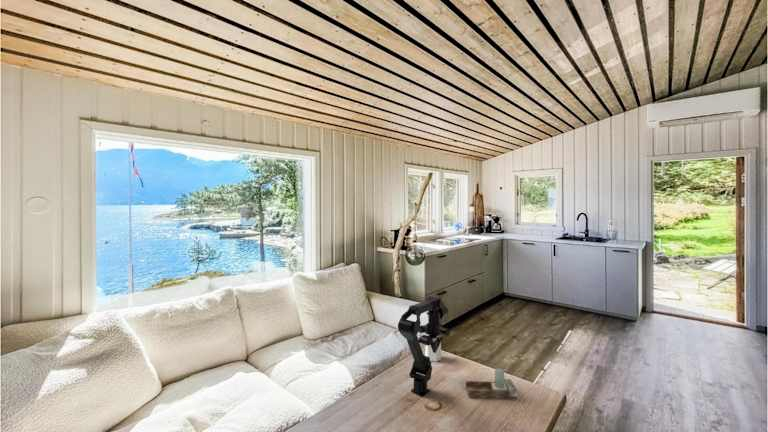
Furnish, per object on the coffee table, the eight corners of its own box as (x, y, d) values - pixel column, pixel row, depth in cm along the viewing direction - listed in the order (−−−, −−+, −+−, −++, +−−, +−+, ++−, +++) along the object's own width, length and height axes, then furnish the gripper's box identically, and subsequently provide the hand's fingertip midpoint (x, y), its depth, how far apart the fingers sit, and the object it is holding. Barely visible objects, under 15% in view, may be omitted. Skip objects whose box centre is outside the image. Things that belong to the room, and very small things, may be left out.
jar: (443, 361, 178) (443, 339, 178) (429, 362, 176) (429, 341, 176) (436, 354, 187) (436, 333, 187) (423, 355, 185) (423, 335, 185)
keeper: (494, 393, 144) (494, 373, 144) (491, 387, 149) (491, 367, 149) (507, 393, 144) (507, 373, 143) (504, 387, 149) (504, 367, 148)
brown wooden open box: (468, 398, 143) (468, 387, 143) (465, 388, 151) (465, 377, 151) (516, 399, 142) (517, 388, 142) (511, 389, 150) (511, 379, 150)
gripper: (432, 313, 172) (432, 342, 172) (409, 322, 159) (410, 353, 159) (449, 318, 164) (449, 348, 165) (428, 328, 151) (428, 361, 151)
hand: (434, 352), depth 160 cm, fingers closed
